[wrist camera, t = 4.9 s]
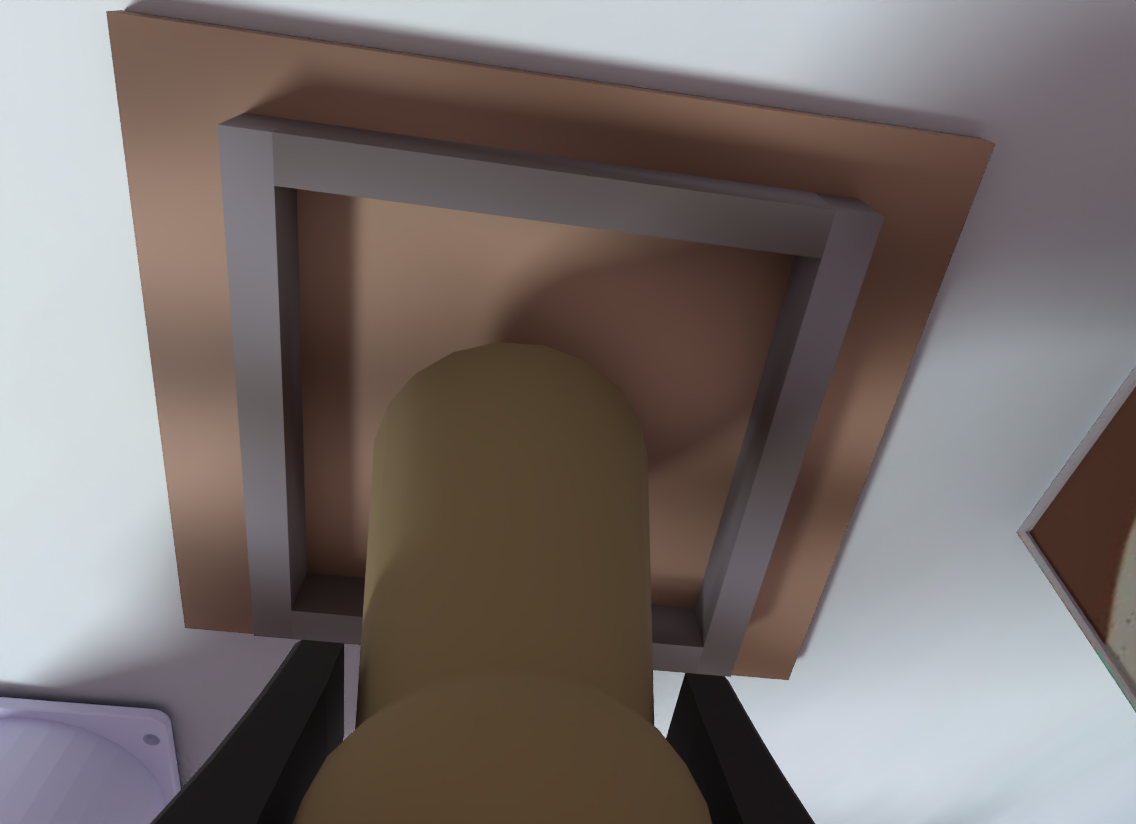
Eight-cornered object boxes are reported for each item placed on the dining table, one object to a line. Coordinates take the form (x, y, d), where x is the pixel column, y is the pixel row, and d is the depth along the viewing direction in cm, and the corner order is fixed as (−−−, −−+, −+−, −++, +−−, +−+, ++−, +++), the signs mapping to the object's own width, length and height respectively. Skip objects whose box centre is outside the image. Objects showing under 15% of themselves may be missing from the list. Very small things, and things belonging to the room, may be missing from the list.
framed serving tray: (783, 664, 25) (802, 720, 23) (193, 613, 23) (162, 667, 21) (981, 138, 17) (1033, 157, 15) (121, 10, 16) (64, 14, 14)
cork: (320, 403, 16) (32, 1004, 7) (592, 298, 16) (707, 810, 6) (446, 605, 19) (370, 1234, 10) (682, 524, 18) (860, 1123, 9)
